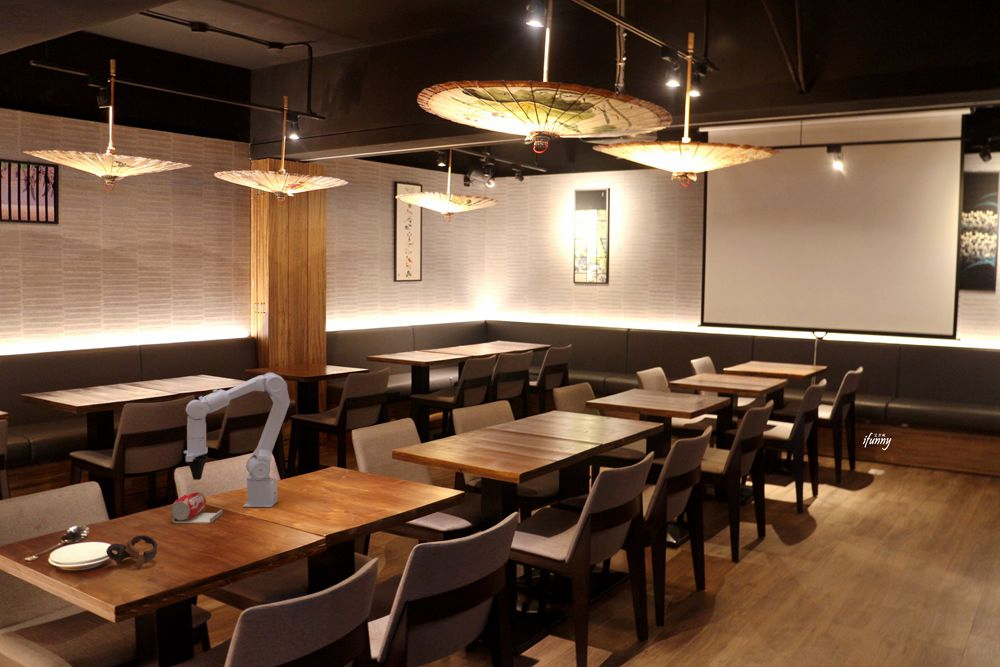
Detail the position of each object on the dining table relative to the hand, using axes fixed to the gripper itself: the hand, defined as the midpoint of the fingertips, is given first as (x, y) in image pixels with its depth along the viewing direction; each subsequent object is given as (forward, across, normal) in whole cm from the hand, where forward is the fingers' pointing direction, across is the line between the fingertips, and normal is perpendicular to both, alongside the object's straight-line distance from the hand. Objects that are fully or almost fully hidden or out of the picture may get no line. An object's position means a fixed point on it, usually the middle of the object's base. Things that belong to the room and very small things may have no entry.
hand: (197, 479), depth 259 cm
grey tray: (+10, +8, +3) cm, 14 cm away
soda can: (+6, +2, 0) cm, 7 cm away
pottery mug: (+11, +50, +1) cm, 51 cm away
